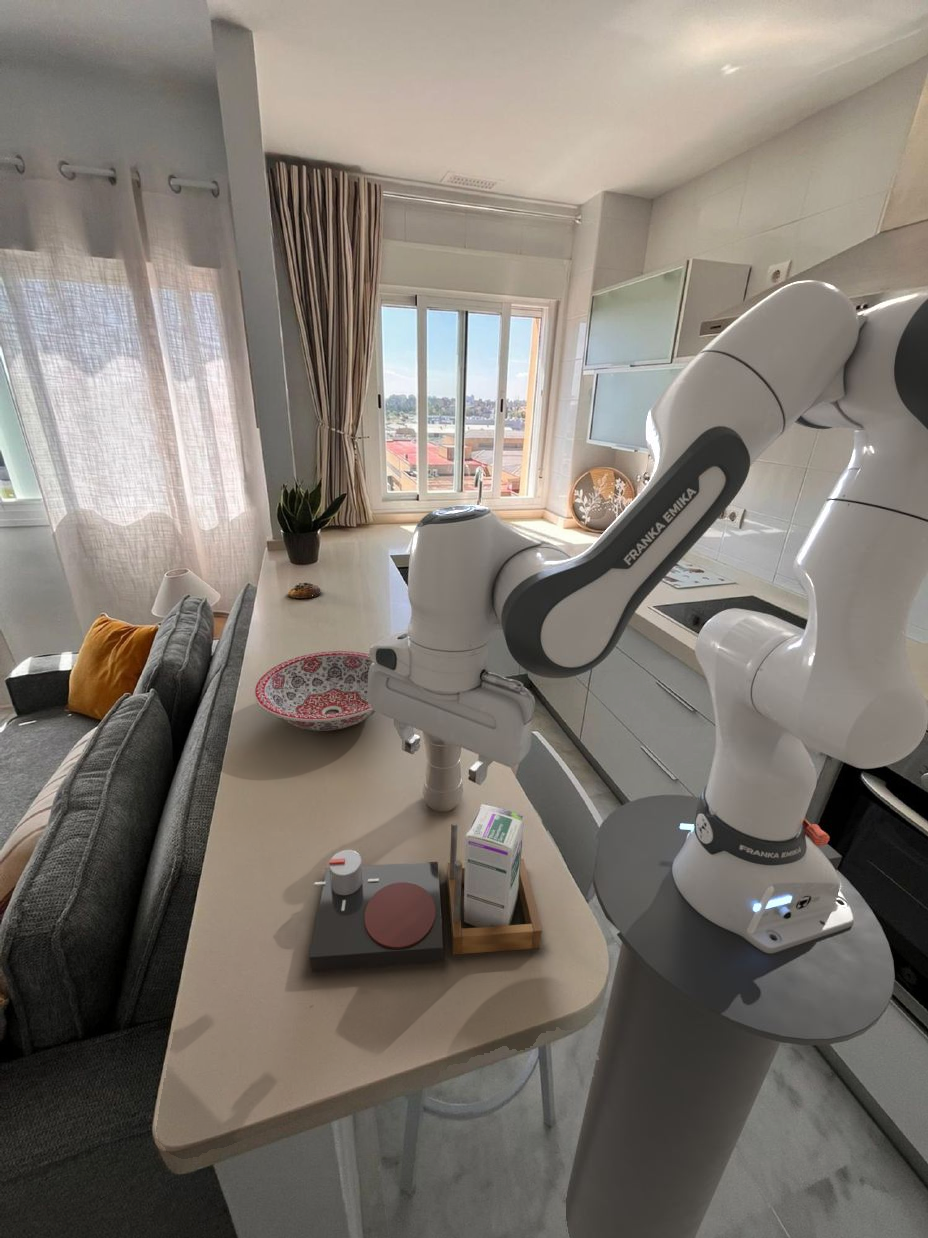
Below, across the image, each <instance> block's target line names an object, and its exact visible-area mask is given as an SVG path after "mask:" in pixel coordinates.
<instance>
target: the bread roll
mask: <svg viewBox="0 0 928 1238" xmlns="http://www.w3.org/2000/svg"><path fill="white" fill-rule="evenodd" d="M289 589H290V590H288V592H287V594H288V596H289V597H291V598H293V599H311V598H316V597H319V596H320V595H321V592H322V590H321V588H320V587H319V586H318V585H315V584H313V583H311V582H299V583H297V584H295V585H294V586H292V587H291V588H289ZM320 591H321V592H320ZM319 592H320V593H319ZM312 595H313V596H312Z"/></svg>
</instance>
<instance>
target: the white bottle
mask: <svg viewBox="0 0 928 1238" xmlns="http://www.w3.org/2000/svg"><path fill="white" fill-rule="evenodd" d="M422 736H423V740H424V741H423V742H424V746H425V755H426V756H425V757H426V758H425V759H426V766H425V778H424V780H423V786H422V796H423V800H424V802H425V804H426V805H427V806H428V808H430V809H431V810H434V811H438V812H448V811H452V810H453V809H455V808H456V807H457V806H458V805H459V804H460V803H461V801H462V798H463V794H464V785H463V784H464V783H463V779H462V774H461V772H462V771H461V756H462V747H459V746H457V745H455V744H452V743H450V742H447V741H445V740H443V739H440V738H438V737H435V736H433V735H431V734H428V733H426V732H423V731H422Z"/></svg>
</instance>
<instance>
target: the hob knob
mask: <svg viewBox="0 0 928 1238" xmlns="http://www.w3.org/2000/svg"><path fill="white" fill-rule="evenodd" d="M362 862H363V861H362V857H361V854H359V853H358V852H357V851H355V850H353V849H343V850H339V851H338V852H336V853H335V854H333V855H332V857H331V858H330V859H329V861H328V868H329V869H330V880H331V888H332V890H333V891H334V892H335V893H336V894H339V895H350V894H352V893H354V892H356V891H357V890H358V889H359V888H360V886H361V884H362V866H363V865H362Z"/></svg>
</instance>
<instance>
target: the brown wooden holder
mask: <svg viewBox="0 0 928 1238" xmlns="http://www.w3.org/2000/svg"><path fill="white" fill-rule="evenodd" d="M458 826H459V825H458V822H457V821H454V820H453V821H452V822H451V824H450V845H449V848H450V849H449V862H447V867H446V868H447V873H446V880H447V881H446V882H447V894H448V896H447V897H448V907H449V908H448V909H449V918H450V919H449V920H450V933H451V934H450V935H451V947H452V955H461V954H462V955H465V954H477V953H478V954H479V953H490V952H504V951H516V950H517V951H518V950H531V949H540V947H541V940H542V932H543V930H542V925H541V923H540V918H539V914H538V911H537V906H536V902H535V897H534V895H533V891H532V887H531V884H530V883H531V882H530V879H529V875H528V870H527V867H526V863H525V859H524V858H521V864H520V877H519V889H518V896H519V899H520V903H521V906H522V912H523V916H524V920H525V923H524V924H523V923H522V924H510V925H508V926H494V927H480V928H478V927H467V928H466V927H465V928H462V919H461V899H462V898H461V897H462V885H464V880H465V861H461V860H457V849H458Z"/></svg>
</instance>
